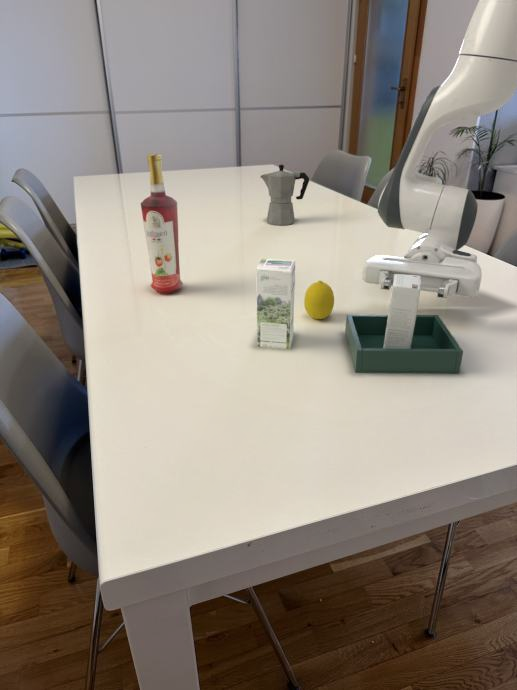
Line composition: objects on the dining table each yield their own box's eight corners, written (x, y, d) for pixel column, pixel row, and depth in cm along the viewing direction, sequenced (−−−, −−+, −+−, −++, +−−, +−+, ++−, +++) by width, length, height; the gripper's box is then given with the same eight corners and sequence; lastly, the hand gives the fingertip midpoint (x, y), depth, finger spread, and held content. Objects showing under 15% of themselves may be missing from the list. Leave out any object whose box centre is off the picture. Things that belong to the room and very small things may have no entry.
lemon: (307, 328, 94) (309, 286, 91) (300, 316, 99) (301, 276, 95) (336, 325, 95) (339, 285, 91) (328, 314, 100) (330, 275, 96)
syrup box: (294, 337, 91) (296, 258, 84) (290, 353, 85) (291, 269, 79) (262, 335, 91) (261, 256, 85) (256, 350, 86) (255, 268, 80)
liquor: (188, 285, 115) (178, 153, 102) (177, 297, 109) (165, 157, 96) (157, 283, 116) (144, 152, 104) (145, 295, 110) (128, 157, 97)
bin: (434, 338, 90) (438, 314, 88) (458, 377, 78) (463, 351, 76) (344, 337, 90) (346, 314, 88) (354, 376, 78) (357, 350, 76)
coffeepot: (259, 225, 164) (259, 166, 156) (261, 219, 172) (260, 162, 164) (308, 225, 163) (310, 166, 155) (307, 219, 172) (309, 162, 163)
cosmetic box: (384, 340, 87) (392, 272, 81) (411, 343, 86) (421, 274, 80) (381, 357, 82) (389, 285, 76) (411, 360, 81) (421, 288, 75)
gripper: (373, 243, 100) (354, 263, 89) (486, 255, 92) (480, 279, 81) (370, 274, 103) (351, 297, 91) (479, 289, 95) (473, 316, 84)
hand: (413, 289), depth 86 cm, fingers open, 8 cm apart
